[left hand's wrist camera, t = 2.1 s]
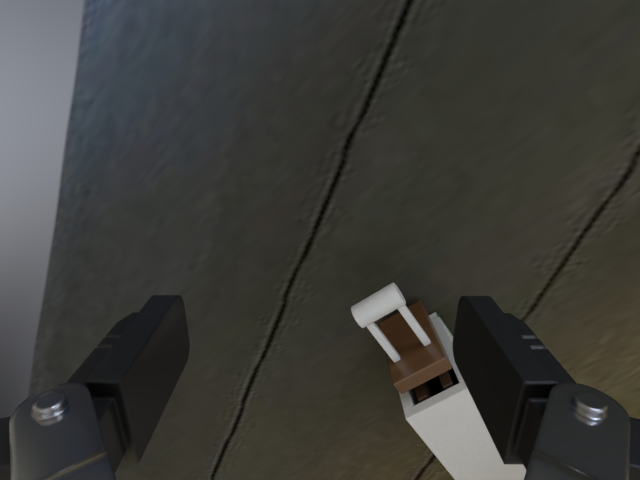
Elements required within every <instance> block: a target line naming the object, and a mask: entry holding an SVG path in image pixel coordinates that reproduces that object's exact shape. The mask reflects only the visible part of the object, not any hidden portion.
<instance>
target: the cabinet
mask: <svg viewBox="0 0 640 480" xmlns="http://www.w3.org/2000/svg"><path fill="white" fill-rule="evenodd" d="M429 317H430V319H431V321H432V323H433V326H434V328H435V330H436V332H437V334H438V337H439V339H440V341H441V343H442V345H443V348H444V350H445V352H446V354H447V356H448V358H449V361H450V363H451V365H452V367H453V369H454V372H455V374H456V376H457V378H458V380H459V383H458V384H456V385H454V386H452V387H450V388H448V389H446V390H444V391H442V392H440V393H438V394H436V395H434V396H432V397H430V398H428V399H426V400H424V401H422V402H419V401H418V398H417V395H416V392H415V388H413V389H411V390H409V391H407V392H405V393H403V394H400V392H399V394H400V398H401V402H402V406H403V410H404V414H405V418H406V420H407V421H408V422H409V424H410V425H411V426H412V427H413V429H414V430H415V431H416V432H417V434H418V435H419V436H420V437H421V439H422V440H423V441H424V442H425V443H426V445H427V446H428V447H429V448H430V450H431V451H432V452H433V453H434V455H435V456H436V457H437V458H438V459H439V461H440V462H441V463H442V464H443V466H444V467H445V468H446V469H447V471H448V472H449V473H450V474H451V475H452V477H453V478H454V479H455V480H524V477H525V474H526V469H525V467H524V465H523V464H504V463H503V461H502V459H501V457H500V455H499V453H498V451H497V449H496V447H495V444H494V442H493V440H492V438H491V436H490V434H489V432H488V430H487V428H486V426H485V424H484V422H483V420H482V417H481V415H480V413H479V411H478V409H477V407H476V405H475V403H474V401H473V399H472V397H471V395H470V392H469V390H468V388H467V386H466V384H465V382H464V380H463V378H462V376H461V374H460V372H459V370H458V368H457V365H456V363H455V360H454V356H453V334H452V333H451V332H450V330H449V329H448V327H447V326H446V324H445V323H444V321H443V320H442V318H441V317H440V315H439V314H438V312H437V311H435V312H434V313H433V314H431V315H429Z"/></svg>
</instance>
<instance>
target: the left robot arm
mask: <svg viewBox="0 0 640 480" xmlns="http://www.w3.org/2000/svg"><path fill="white" fill-rule="evenodd" d="M188 355H189V335H188V329H187V322H186V315H185V309H184V302H183V299H182V297H181V296H179V295H154V296H152V297H151V298H150V299H149V300H148V302H147V303H146V304H145V305H144V307H143V308H142V309H141V310H140V312H139V313H132V314H130V315H128V316H127V317H125V318H124V319H122V320H121V321H119V322H118V323H116V324H115V326H114V327H113V328H112V329H111V330H110V332H109V333H108V334H107V335H106V338H104V339H103V340H102V341H101V342H100V343H99V345H98V348H95V349H94V351H93V352H92V353H91V354H90V355H89V356H88V358H87V359H86V360H85V361H84V362H83V364H82V365H81V366H80V367H79V368H78V370H77V371H76V372H75V373H74V374H73V375H72V377H71V378H70V379H69V380H68V381H67V383H63V384H58V385H54V386H51V387H48V388H46V389H43V390H41V391H39V392H37V393H35V394H33V395H32V396H30V397H29V398H27V399H26V400H25V401H23V402H22V403H21V404H20V405H19V406H18V407H17V408H16V409H15V410H14V412H13V413H12V415H11V416H10V417H6V418H2V419H0V480H116V477H115V474H114V473H115V471H116V469H117V468H118V466H119V464H120V463H139V461H140V459H141V457H142V455H143V453H144V451H145V449H146V447H147V445H148V443H149V440H150V438H151V436H152V434H153V432H154V430H155V428H156V426H157V424H158V422H159V419H160V417H161V415H162V413H163V411H164V409H165V407H166V405H167V403H168V401H169V398H170V396H171V394H172V392H173V390H174V388H175V386H176V384H177V382H178V379H179V377H180V375H181V373H182V371H183V369H184V367H185V365H186V362H187V360H188ZM453 356H454V360H455V363H456V365H457V368H458V370H459V372H460V374H461V376H462V378H463V380H464V382H465V384H466V386H467V388H468V390H469V392H470V395H471V397H472V399H473V401H474V403H475V405H476V407H477V409H478V411H479V413H480V415H481V417H482V420H483V422H484V424H485V426H486V428H487V430H488V432H489V434H490V436H491V438H492V440H493V442H494V444H495V447H496V449H497V451H498V453H499V455H500V457H501V459H502V461H503V463H504V464H523V465H524V467H525V469H526V474H525V477H524V480H640V419H636V418H632V417H629V415H628V413H627V412H626V410H625V409H624V408H623V407H622V406H621V405H620V404H619V403H618V402H617V401H615V400H614V399H613V398H611V397H610V396H608V395H607V394H605V393H603V392H601V391H599V390H597V389H594V388H592V387H589V386H586V385H582V384H577V383H576V382H575V381H574V380H573V379H572V378H571V376H570V375H569V374H568V373H567V372H566V370H565V369H564V368H563V367H562V366H561V365H560V363H559V362H558V361H557V360H556V359H555V358H554V356H553V355H552V354H551V353H550V352H549V350H548V349H545V346H544V345H543V343H542V342H541V341H540V340H539V339H537V338H536V335H535V334H534V333H533V332H532V330H531V329H530V328H529V327H528V326H527V325H526V324H525V323H524V322H522V321H521V320H519V319H517V318H516V317H514V316H513V315H511V314H510V313H503V312H502V311H501V309H500V308H499V307H498V306H497V304H496V303H495V302H494V301H493V299H492V298H491V297H489V296H462V297H461V298H460V300H459V303H458V310H457V316H456V323H455V329H454V336H453Z"/></svg>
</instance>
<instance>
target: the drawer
mask: <svg viewBox="0 0 640 480" xmlns="http://www.w3.org/2000/svg"><path fill="white" fill-rule="evenodd" d="M405 304H406V301H405V299H404V297H403V295H402V293H401V292H400V290H399V288H398V287H397V286H396V284H395V283H391V284H389V285H388V286H386V287H384V288H383V289H381V290H379V291H377V292H376V293H374V294H372V295H371V296H369V297H367V298H366V299H364V300H362V301H360V302H359V303H357V304H355V305H354V306H352V307H351V312H352V314H353V317H354V318H355V320H356V322H357V323H358V324H359V326H360V327H362V328H364V327H367V328H368V329H369V331H370V332H371V333H372V335H373V336H374V337H375V338H376V340H377V341H378V342H379V344H380V345H381V346H382V348H383V349H384V350H385V351H386V355H387V360H388V364H389V368H390V372H391V377H392V381H393V385H394V386H395V387H396V389H397V390H398V391H399V392H400V394H403V393H405V392H407V391H409V390H411V389H413V388H415V392H416V395H417V398H418V401H419V402H422V401H424V400H426V399H428V398H430V397H432V396H434V395H436V394H438V393H440V392H442V391H444V390H446V389H448V388H450V387H452V386H454V385H456V384H458V383H459V380H458V378H457V376H456V374H455V372H454V369H453V367H452V365H451V363H450V361H449V358H448V356H447V354H446V352H445V350H444V348H443V345H442V343H441V341H440V339H439V337H438V334H437V332H436V330H435V328H434V326H433V323H432V321H431V319H430V317H429V315H428V312H427V310H426V309H425V307H424V306H423V304H422V303H421V301H418V302H416V303H415V304H413V305H411V306H409V307H408V308H407V306H406V305H405ZM396 309H398V310H399V313H397V314H395V315H393V316H392V317H390V318H388V319H386V320H385V321H383V322H381V323H379V325H380V329H379V327H378V326H377V325H376V323H375V321H376V320H378V319H380V318H382V317H384V316H385V315H387V314H389V313H391V312H392V311H394V310H396Z"/></svg>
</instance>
